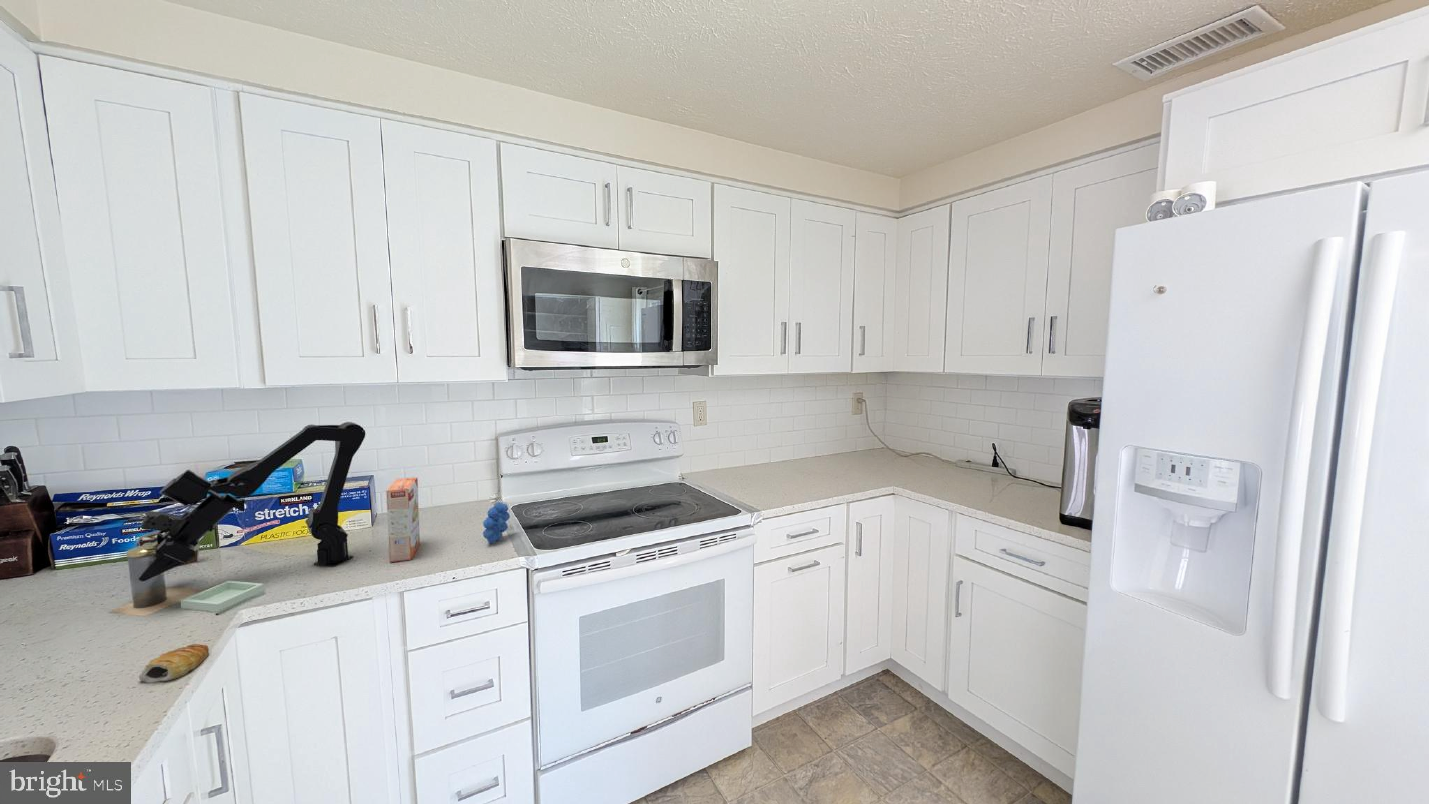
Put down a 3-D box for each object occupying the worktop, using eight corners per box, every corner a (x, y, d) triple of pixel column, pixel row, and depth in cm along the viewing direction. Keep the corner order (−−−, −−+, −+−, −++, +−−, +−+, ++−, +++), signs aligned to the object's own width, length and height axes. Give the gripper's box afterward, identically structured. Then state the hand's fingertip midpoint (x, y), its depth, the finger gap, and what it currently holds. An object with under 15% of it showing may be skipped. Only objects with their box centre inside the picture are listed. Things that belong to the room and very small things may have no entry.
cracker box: (413, 560, 143) (409, 488, 141) (388, 563, 141) (384, 490, 139) (421, 542, 156) (418, 476, 154) (399, 545, 154) (395, 478, 151)
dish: (229, 590, 124) (228, 580, 124) (264, 593, 123) (263, 583, 123) (181, 611, 115) (180, 600, 114) (218, 614, 113) (217, 604, 113)
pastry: (184, 654, 99) (182, 635, 99) (222, 652, 100) (220, 634, 99) (135, 685, 90) (133, 665, 89) (177, 683, 91) (175, 663, 90)
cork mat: (172, 589, 124) (172, 587, 124) (206, 592, 123) (206, 590, 123) (107, 614, 113) (107, 612, 113) (144, 618, 111) (144, 616, 111)
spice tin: (155, 596, 120) (149, 543, 119) (174, 598, 119) (168, 544, 118) (125, 607, 115) (119, 552, 113) (145, 609, 114) (139, 554, 113)
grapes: (496, 533, 164) (495, 497, 163) (515, 534, 163) (514, 498, 162) (472, 546, 153) (471, 508, 152) (492, 548, 152) (490, 509, 151)
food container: (202, 556, 144) (199, 522, 143) (205, 562, 140) (202, 527, 139) (137, 570, 135) (133, 534, 134) (138, 577, 131) (134, 540, 130)
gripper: (169, 490, 124) (104, 545, 117) (168, 506, 111) (95, 570, 104) (217, 514, 131) (157, 568, 124) (221, 532, 118) (155, 593, 111)
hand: (141, 574), depth 116 cm, fingers open, 9 cm apart
